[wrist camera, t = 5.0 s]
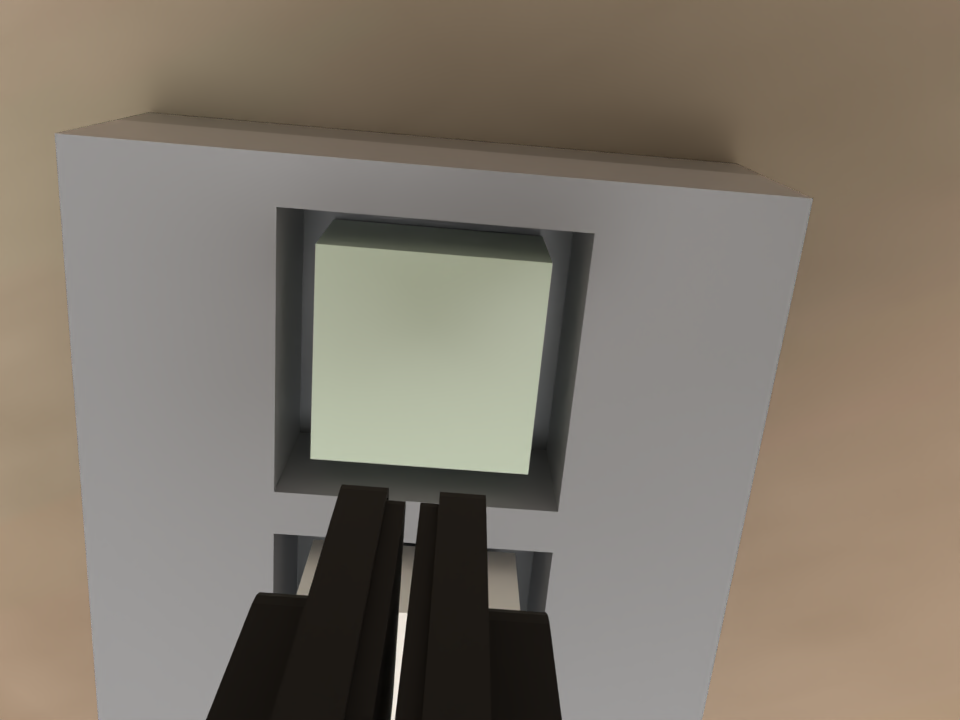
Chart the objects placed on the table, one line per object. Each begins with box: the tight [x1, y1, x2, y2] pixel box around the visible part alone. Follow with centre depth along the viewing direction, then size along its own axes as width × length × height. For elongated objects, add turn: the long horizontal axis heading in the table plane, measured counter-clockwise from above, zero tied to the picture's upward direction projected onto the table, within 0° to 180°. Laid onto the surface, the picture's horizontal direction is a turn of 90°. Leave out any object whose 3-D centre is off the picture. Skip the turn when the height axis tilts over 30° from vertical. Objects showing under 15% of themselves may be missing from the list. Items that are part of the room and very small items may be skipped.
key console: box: [55, 112, 813, 720], centre depth 22 cm, size 14×22×5 cm, turn 175°
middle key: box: [296, 539, 520, 720], centre depth 20 cm, size 5×5×2 cm
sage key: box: [310, 219, 553, 475], centre depth 19 cm, size 5×5×2 cm
